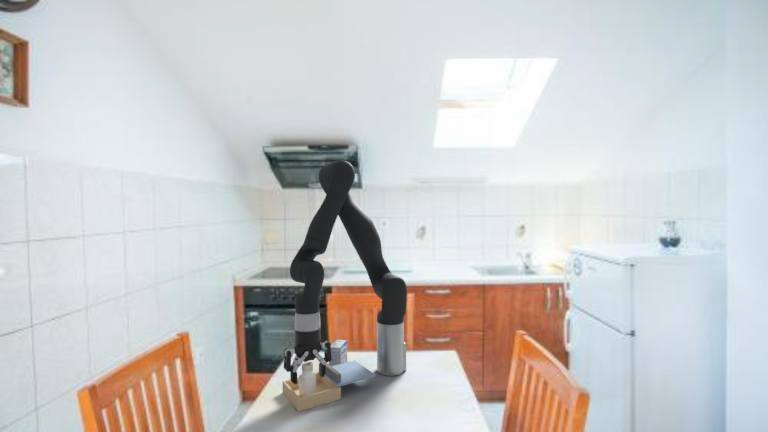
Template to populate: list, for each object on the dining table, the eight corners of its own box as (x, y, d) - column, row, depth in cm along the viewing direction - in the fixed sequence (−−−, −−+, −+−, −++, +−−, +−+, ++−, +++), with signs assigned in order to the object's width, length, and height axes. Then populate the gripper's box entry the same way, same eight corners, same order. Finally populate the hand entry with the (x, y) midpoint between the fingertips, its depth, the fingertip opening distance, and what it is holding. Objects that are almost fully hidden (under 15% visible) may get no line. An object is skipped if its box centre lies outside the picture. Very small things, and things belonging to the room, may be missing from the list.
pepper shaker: (308, 390, 126) (308, 359, 126) (317, 394, 124) (316, 363, 123) (298, 395, 123) (297, 364, 123) (306, 399, 121) (306, 367, 120)
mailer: (322, 382, 133) (322, 371, 133) (341, 398, 122) (340, 387, 122) (282, 392, 126) (282, 381, 126) (298, 411, 115) (298, 399, 115)
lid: (354, 362, 140) (354, 353, 139) (375, 376, 128) (375, 366, 128) (318, 371, 132) (318, 361, 132) (337, 387, 121) (337, 376, 121)
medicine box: (341, 373, 140) (340, 348, 140) (328, 372, 141) (328, 347, 141) (347, 363, 148) (347, 340, 148) (335, 362, 149) (335, 339, 148)
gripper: (324, 319, 129) (324, 369, 130) (280, 327, 122) (281, 381, 123) (334, 325, 123) (335, 378, 124) (289, 334, 115) (289, 391, 116)
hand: (308, 379), depth 123 cm, fingers open, 8 cm apart
